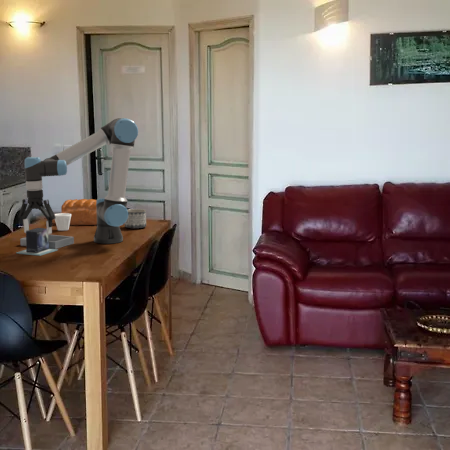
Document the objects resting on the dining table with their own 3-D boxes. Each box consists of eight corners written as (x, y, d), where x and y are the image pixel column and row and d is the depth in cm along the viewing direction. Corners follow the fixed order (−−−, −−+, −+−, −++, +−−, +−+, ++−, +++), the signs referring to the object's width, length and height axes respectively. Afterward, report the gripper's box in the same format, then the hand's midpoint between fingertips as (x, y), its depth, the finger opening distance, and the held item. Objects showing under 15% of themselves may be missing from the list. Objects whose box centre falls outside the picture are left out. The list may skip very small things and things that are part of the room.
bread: (63, 222, 410) (63, 197, 408) (106, 222, 411) (105, 197, 408) (58, 225, 397) (57, 200, 394) (102, 225, 397) (102, 200, 395)
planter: (142, 230, 383) (142, 212, 381) (121, 229, 385) (121, 211, 383) (148, 226, 395) (148, 209, 393) (128, 225, 397) (128, 208, 395)
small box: (37, 253, 315) (36, 231, 313) (25, 252, 317) (24, 231, 315) (49, 249, 325) (48, 228, 323) (38, 248, 327) (37, 227, 325)
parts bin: (73, 243, 342) (73, 236, 342) (55, 248, 328) (55, 242, 327) (40, 240, 350) (39, 233, 350) (20, 245, 336) (20, 238, 336)
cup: (55, 232, 374) (54, 216, 373) (53, 229, 383) (52, 213, 382) (73, 231, 378) (72, 215, 376) (70, 228, 387) (69, 212, 386)
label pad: (58, 250, 325) (58, 249, 325) (39, 255, 312) (39, 254, 312) (34, 247, 330) (34, 247, 330) (16, 253, 317) (16, 252, 317)
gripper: (60, 189, 315) (64, 232, 319) (18, 187, 324) (22, 230, 328) (51, 191, 308) (54, 235, 312) (8, 189, 317) (12, 233, 321)
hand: (38, 233), depth 320 cm, fingers open, 13 cm apart
